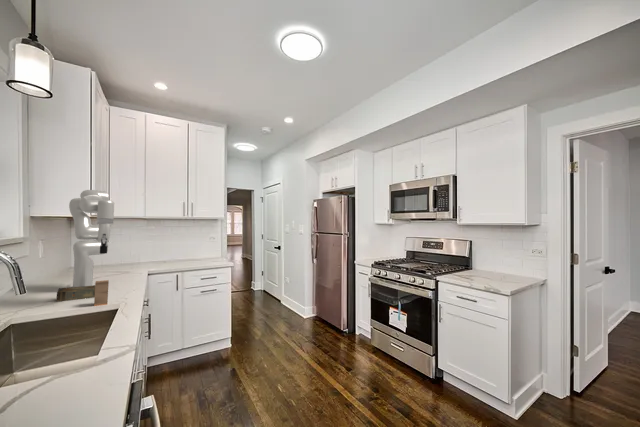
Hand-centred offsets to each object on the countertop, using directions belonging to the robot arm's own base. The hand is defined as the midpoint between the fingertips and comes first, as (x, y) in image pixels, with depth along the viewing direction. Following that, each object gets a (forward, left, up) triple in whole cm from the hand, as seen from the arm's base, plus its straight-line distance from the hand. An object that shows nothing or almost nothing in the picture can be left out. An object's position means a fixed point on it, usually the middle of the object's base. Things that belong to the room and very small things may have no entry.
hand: (103, 252), depth 158 cm
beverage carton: (-12, -10, -27) cm, 31 cm away
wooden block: (+10, 0, -26) cm, 28 cm away
